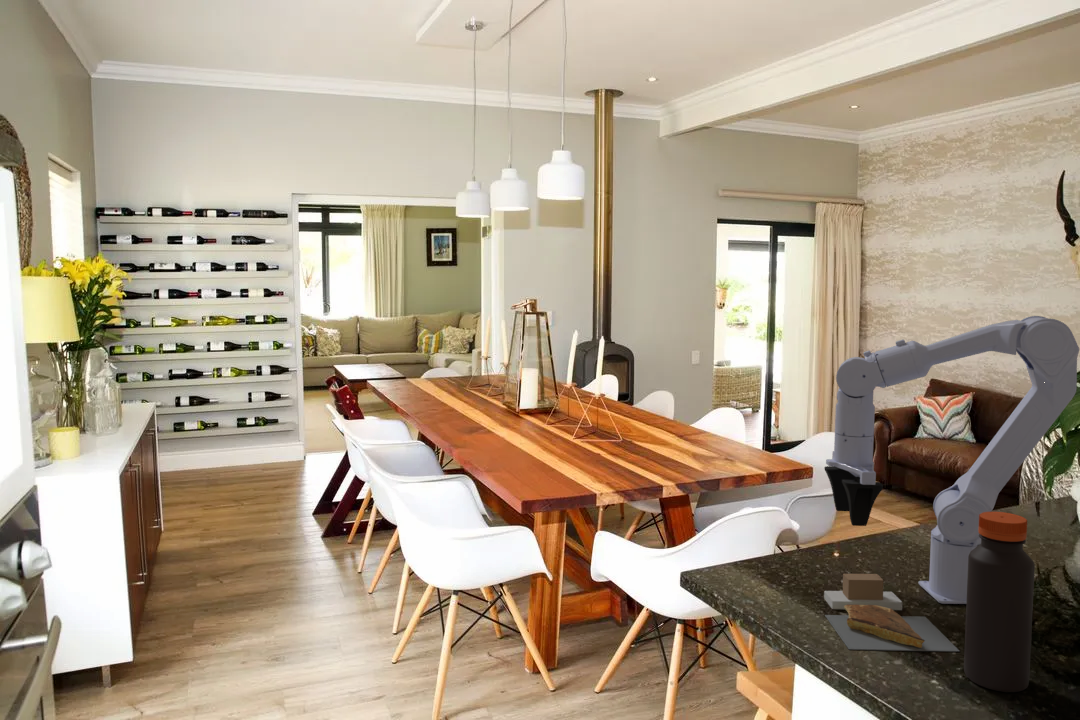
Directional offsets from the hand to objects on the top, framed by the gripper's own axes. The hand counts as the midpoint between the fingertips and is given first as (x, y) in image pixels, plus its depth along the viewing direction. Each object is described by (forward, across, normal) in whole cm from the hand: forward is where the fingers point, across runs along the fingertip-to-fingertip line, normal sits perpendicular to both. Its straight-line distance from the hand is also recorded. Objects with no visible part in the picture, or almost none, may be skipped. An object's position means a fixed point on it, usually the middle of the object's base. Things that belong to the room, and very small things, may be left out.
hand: (850, 517), depth 124 cm
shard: (+10, +18, 0) cm, 21 cm away
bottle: (+10, +31, +7) cm, 34 cm away
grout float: (+11, +9, -1) cm, 14 cm away
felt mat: (+10, +19, -1) cm, 22 cm away
